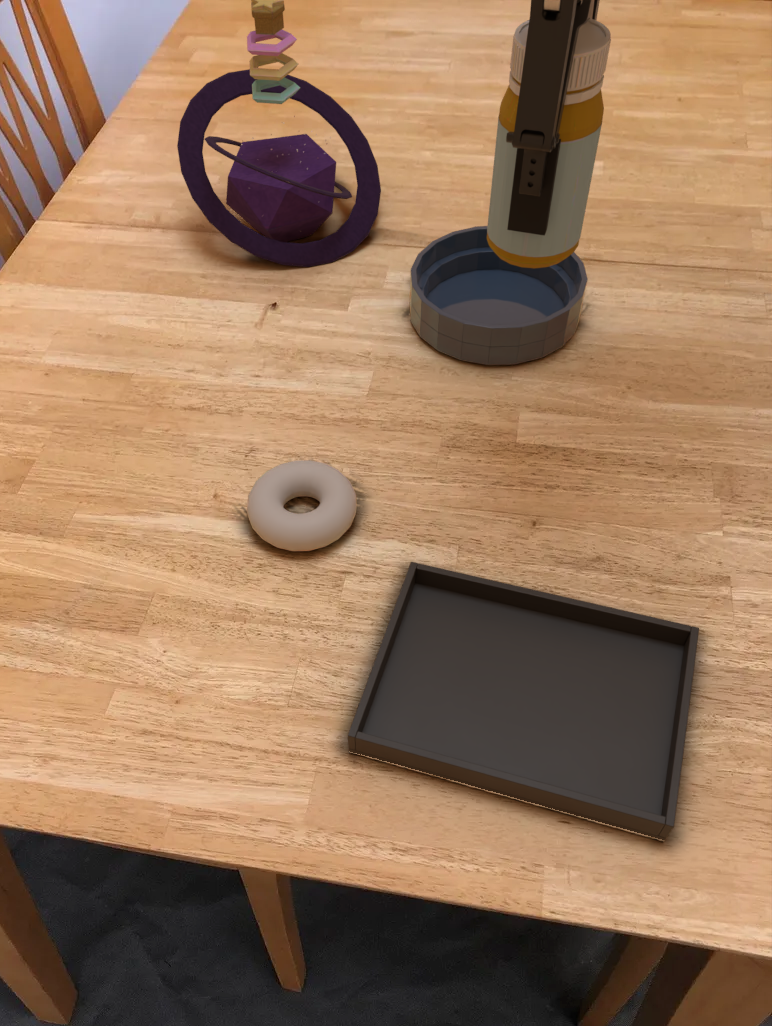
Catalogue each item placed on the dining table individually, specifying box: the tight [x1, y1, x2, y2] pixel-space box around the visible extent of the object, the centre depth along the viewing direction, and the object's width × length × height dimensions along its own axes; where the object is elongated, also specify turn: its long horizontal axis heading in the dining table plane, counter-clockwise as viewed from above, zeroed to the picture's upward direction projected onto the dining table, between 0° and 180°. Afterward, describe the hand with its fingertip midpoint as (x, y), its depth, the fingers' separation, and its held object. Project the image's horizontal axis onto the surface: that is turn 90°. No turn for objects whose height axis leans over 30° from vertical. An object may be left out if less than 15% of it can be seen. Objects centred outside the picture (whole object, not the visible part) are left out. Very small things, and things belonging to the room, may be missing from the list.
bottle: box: [486, 18, 612, 268], centre depth 65 cm, size 7×7×15 cm
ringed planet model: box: [176, 0, 382, 268], centre depth 103 cm, size 22×21×25 cm
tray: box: [347, 561, 700, 841], centre depth 71 cm, size 23×17×3 cm
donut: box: [246, 459, 358, 552], centre depth 83 cm, size 10×4×10 cm
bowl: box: [409, 225, 589, 366], centre depth 99 cm, size 18×18×5 cm
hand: (538, 201), depth 68 cm, fingers closed on bottle, 7 cm apart
